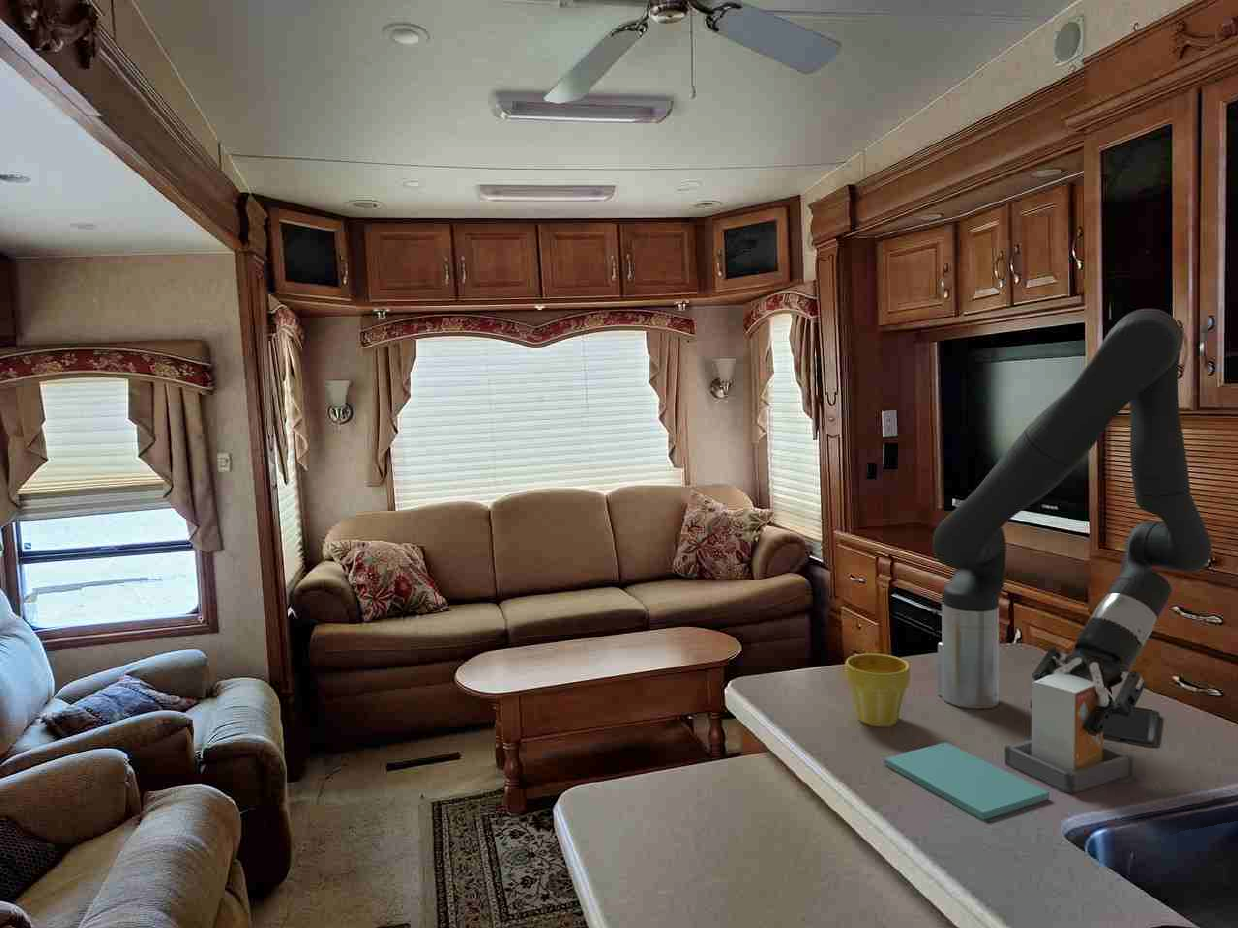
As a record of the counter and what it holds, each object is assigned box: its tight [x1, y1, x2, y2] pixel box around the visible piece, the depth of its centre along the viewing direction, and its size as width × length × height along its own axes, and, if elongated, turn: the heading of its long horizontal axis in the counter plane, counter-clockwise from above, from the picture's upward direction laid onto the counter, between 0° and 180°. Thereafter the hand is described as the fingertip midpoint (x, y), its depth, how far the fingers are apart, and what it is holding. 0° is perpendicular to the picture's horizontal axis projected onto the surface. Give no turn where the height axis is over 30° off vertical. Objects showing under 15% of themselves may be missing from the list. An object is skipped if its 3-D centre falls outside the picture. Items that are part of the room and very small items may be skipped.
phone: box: [1103, 706, 1160, 748], centre depth 132 cm, size 8×1×15 cm
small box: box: [1031, 673, 1104, 772], centre depth 118 cm, size 8×6×13 cm
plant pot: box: [844, 653, 911, 727], centre depth 138 cm, size 10×10×10 cm
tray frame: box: [1004, 739, 1133, 795], centre depth 118 cm, size 11×13×2 cm
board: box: [883, 742, 1050, 821], centre depth 115 cm, size 18×12×1 cm, turn 24°
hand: (1061, 721), depth 117 cm, fingers open, 8 cm apart
